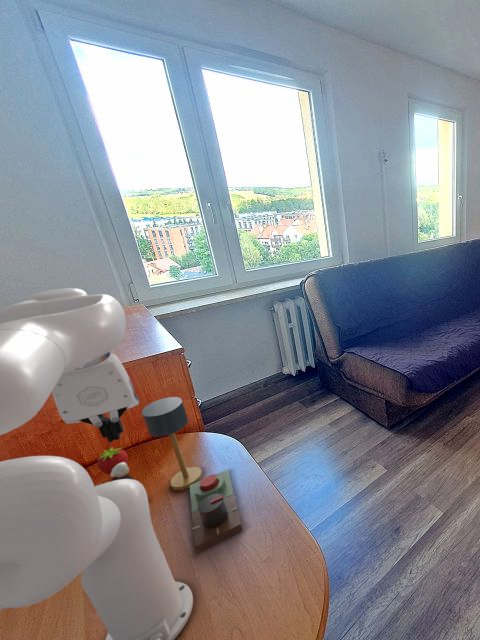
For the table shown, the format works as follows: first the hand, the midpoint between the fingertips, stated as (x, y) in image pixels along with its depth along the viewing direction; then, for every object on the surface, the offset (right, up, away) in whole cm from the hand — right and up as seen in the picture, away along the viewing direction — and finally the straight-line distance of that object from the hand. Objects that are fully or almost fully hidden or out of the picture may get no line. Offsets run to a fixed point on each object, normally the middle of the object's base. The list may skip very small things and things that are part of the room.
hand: (115, 437), depth 67 cm
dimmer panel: (+14, -25, +11) cm, 30 cm away
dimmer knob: (+14, -23, +11) cm, 29 cm away
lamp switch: (+7, -19, +19) cm, 28 cm away
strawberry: (-22, -20, +25) cm, 39 cm away
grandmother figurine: (-10, -23, +17) cm, 30 cm away
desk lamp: (-2, -20, +23) cm, 31 cm away
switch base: (+7, -22, +19) cm, 30 cm away
